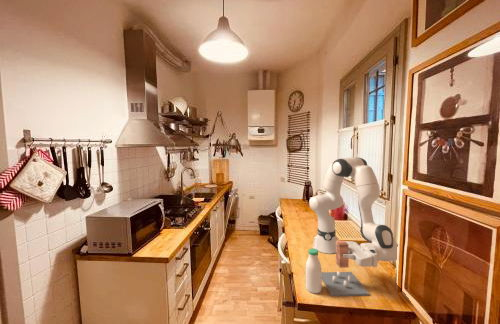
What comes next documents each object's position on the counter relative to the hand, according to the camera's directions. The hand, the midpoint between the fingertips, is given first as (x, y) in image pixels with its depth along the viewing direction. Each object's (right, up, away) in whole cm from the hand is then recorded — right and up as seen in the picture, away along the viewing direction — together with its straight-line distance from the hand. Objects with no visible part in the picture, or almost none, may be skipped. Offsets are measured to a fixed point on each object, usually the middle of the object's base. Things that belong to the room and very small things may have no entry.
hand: (340, 252), depth 108 cm
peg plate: (+1, -17, +1) cm, 17 cm away
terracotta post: (+1, -7, 0) cm, 7 cm away
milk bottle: (-15, -17, -2) cm, 23 cm away
